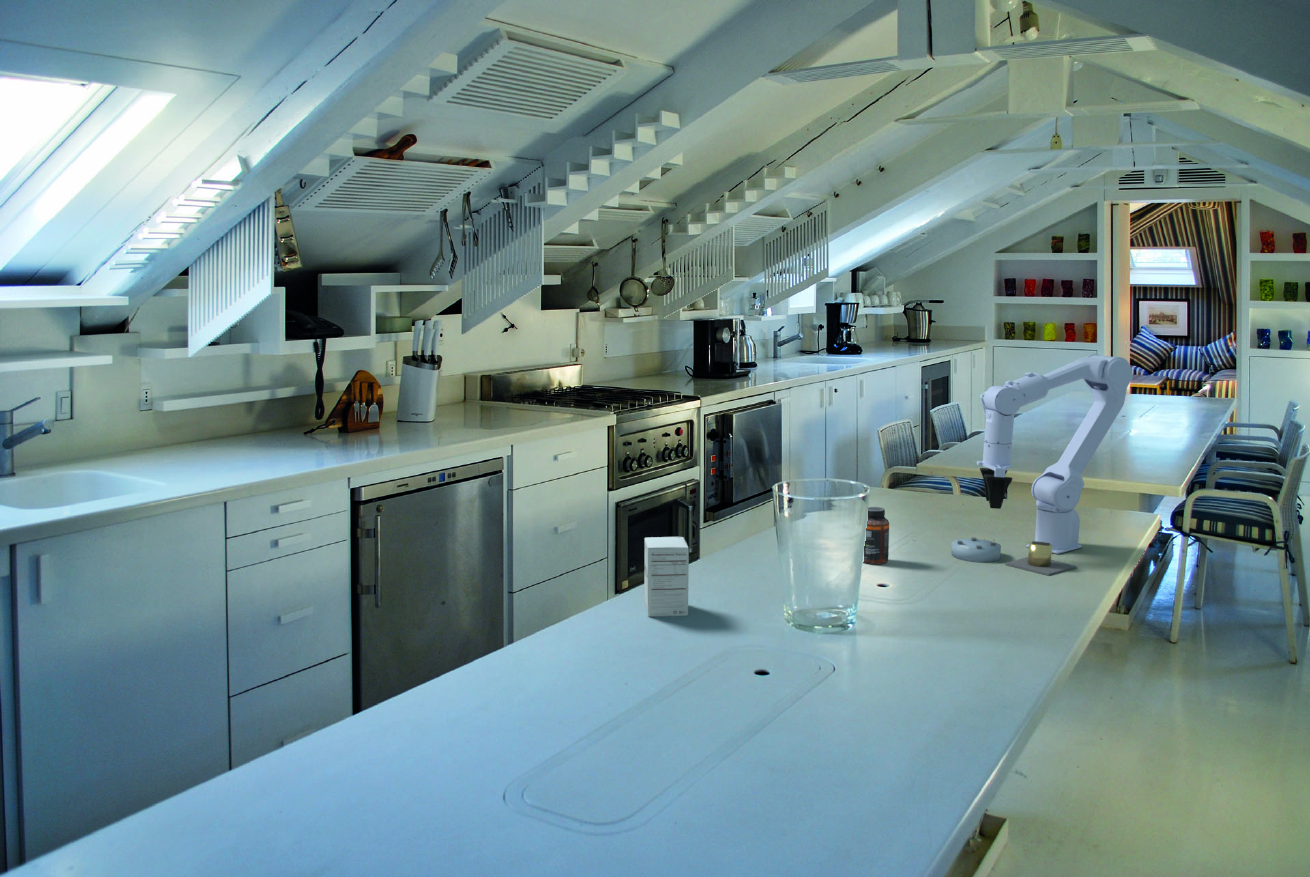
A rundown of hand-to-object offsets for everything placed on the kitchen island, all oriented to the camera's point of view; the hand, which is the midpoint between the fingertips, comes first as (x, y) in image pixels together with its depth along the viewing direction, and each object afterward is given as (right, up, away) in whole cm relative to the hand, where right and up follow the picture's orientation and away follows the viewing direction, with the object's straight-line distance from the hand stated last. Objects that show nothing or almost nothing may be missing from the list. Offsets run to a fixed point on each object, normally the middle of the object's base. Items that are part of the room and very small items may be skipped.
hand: (993, 504), depth 228 cm
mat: (+7, -12, -10) cm, 17 cm away
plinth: (-4, -11, -2) cm, 12 cm away
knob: (+6, -12, -10) cm, 16 cm away
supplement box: (-71, -17, -39) cm, 83 cm away
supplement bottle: (-27, -12, -6) cm, 30 cm away
